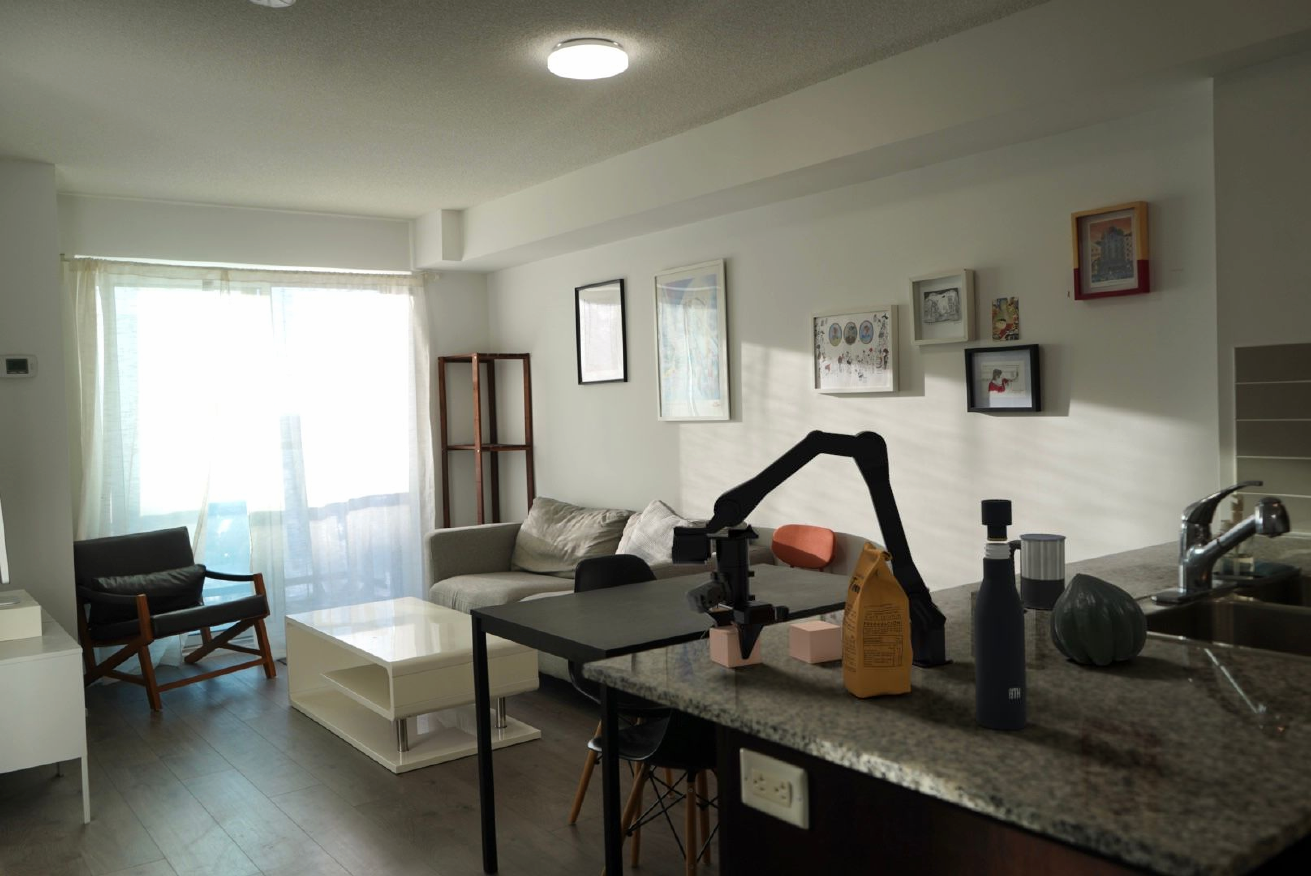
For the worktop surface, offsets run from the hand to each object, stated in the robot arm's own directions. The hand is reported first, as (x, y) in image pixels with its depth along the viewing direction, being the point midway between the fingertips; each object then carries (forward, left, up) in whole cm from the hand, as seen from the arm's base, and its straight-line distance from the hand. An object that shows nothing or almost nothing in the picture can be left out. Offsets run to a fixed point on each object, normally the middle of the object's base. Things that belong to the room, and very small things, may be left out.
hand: (735, 655), depth 173 cm
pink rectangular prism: (-5, -13, -1) cm, 14 cm away
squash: (-31, -51, -1) cm, 60 cm away
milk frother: (+7, -73, -1) cm, 74 cm away
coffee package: (-26, -10, -1) cm, 28 cm away
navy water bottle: (-48, -14, -1) cm, 50 cm away
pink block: (0, 0, -1) cm, 1 cm away
